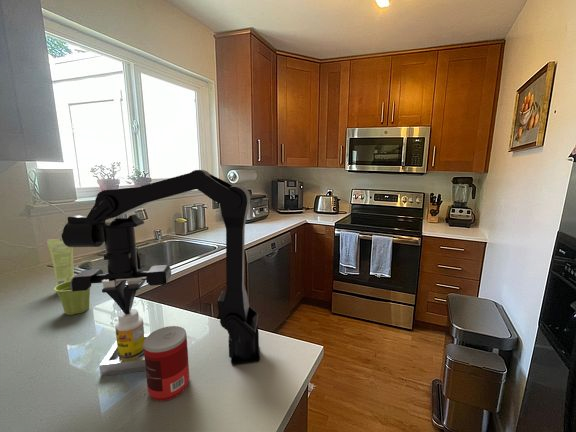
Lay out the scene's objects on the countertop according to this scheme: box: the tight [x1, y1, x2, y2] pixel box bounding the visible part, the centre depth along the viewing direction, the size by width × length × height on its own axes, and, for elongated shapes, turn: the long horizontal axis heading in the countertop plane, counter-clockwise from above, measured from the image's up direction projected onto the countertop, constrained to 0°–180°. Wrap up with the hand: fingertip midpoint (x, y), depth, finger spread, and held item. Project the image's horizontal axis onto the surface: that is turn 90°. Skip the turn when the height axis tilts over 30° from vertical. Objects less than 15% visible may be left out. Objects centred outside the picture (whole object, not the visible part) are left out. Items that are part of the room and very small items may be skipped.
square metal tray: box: [99, 333, 150, 377], centre depth 66 cm, size 11×10×3 cm
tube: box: [46, 238, 75, 286], centre depth 102 cm, size 6×5×20 cm
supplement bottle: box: [114, 308, 145, 359], centre depth 65 cm, size 6×6×10 cm
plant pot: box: [53, 281, 93, 316], centre depth 87 cm, size 9×9×9 cm
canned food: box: [143, 325, 190, 402], centre depth 56 cm, size 8×8×11 cm
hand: (127, 313), depth 64 cm, fingers closed, pressing on supplement bottle
